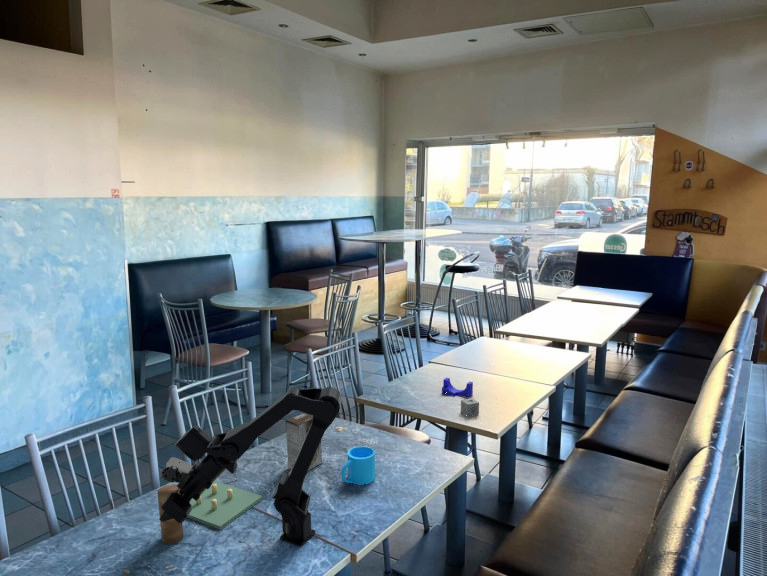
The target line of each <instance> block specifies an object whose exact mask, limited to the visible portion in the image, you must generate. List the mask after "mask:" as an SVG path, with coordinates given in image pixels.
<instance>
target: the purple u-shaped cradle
mask: <svg viewBox="0 0 767 576" xmlns="http://www.w3.org/2000/svg"><path fill="white" fill-rule="evenodd" d="M442 383H443V386H442V387H441V395H445V393H446V392H447V393H446V394H447V395H446V396H451V395H453V396H452V397H456V396H458V395H459V397H463V396H464V398H468V399H470V398H472V397H473V396H474V395H473V394H474V393H473V392H474V391H473V390H474V389H473V386H474V382H473V381H468V382H467V383H466V387H465V389H457V388H455V387H454V386H453V385H452V382H451V379H450V378H449V377H445V378H444V379H443V382H442Z"/></svg>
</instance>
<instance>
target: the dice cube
mask: <svg viewBox="0 0 767 576" xmlns="http://www.w3.org/2000/svg"><path fill="white" fill-rule="evenodd" d="M461 412H462V413H461ZM460 413H461V414H463V413H464V414H465V415H467V416H469V417H473V416H472V415H475V416H479V415H480V402H479V401H478V400H476V399H474V398H472V397H470V398H466V399H465V398H464V399H460ZM464 414H463V415H464ZM478 414H479V415H478ZM465 415H464V416H465ZM467 416H466V417H467Z"/></svg>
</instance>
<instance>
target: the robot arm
mask: <svg viewBox="0 0 767 576" xmlns="http://www.w3.org/2000/svg"><path fill="white" fill-rule="evenodd" d="M342 399H343V398H342V394H341V392H340V390H338V389H337V388H336V387H333V386H327V387H324V388H321V387H311V388H310V387H309V388H308V387H307V388H296V387H294V388H292V387H291V388H290V389H287V392H285V393H284V394H283V395H282V396H281V397H279V398H278V399H276V401H274V402H273V403H272V404H270V405H269V406H267V408H265V409H264V410H263V411H262V412H260V413H259V414H257V415H256V416H255V417H253V418H252V419H251V420H249V421H247V422H245V423H241V424H239V425H237V426H235V427H234V428H232V429H229V430H228V431H226V432H222V433H215V434H213V436H212V437H210V436H209V435H208V434H207V433H206V432H205V431H203V430H202V428H201V427H200V426H199V425H198V424H194V425H193V426H192V427H191V428H190V429H188V430H187V431H186V432H185V433H184V434H183V435H182V436H181V437H179V439H178V440H177V441H176V442H175V444H174V447H175V448H177V449H178V450H179V451H180V452H181V453H182V454H184V455H185V456H186V457H187V458H188V459H189V460H190V461H193V463H189V462H187V461H184V460H183V459H180V458H177V457H174V456H173V457H170V458H169V460H167V462H166V463H165V465H164V468H163V470H162V471H161V477H162V479H163V480H165V481H167V482H170V483H177V484H176V485H177V487H178V488H179V489H180V491H179V492H178V493H179V494H180V495H179V494H178V493H171V494H170V495H169V496H168V497H167V498H166V500H165V501H164V503H163V504H162V505H161V507H162V509H163V510H164V512H163V514H162V515H161V517H160V516H159V517H158V518H159V519H158V520H159V522H160V521H162V522H164V521H167V520H170V519H175V520H176V521H177V522H178V523H182V524H183V523H184V522H185V521H186V519H188V518H187V517H188V515H189V514H190V512H191V510H192V506H191V504H190V501H191V499H192V498H193V499H194V500H196V501H197V500H198V499H199V497H200V496H201V494H202V493H203V492H204V491H205V490H206V489H207V490H208V489H209V488H210V487H211V485H212V483H213V482H214V481H217V479H218V478H219V477H220V476H221V475H222V474H223V473H224V472H225V471H226V470H227V471H228V472H229V473H230V474H231V475H232V474H233V475H234V473H235V472H236V470H237V469H238V463H237V461H238V460H239V459H240V458H241V457H242V456H244V454H245V453H246V452H247V451H248V450H249V448H250V447H251V446H252V445H253V443H254V442H256V440H257V439H258V438H259V437H260V436H261V435H262V434H264V433H265V432H267V431H268V430H269V429H270V428H272V427H273V426H275V425H276V424H277V423H278V422H279V421H281V420H282V419H283V418H284V417H286V416H287V415H288V414H290V413H291V412H292V411H299V412H301V413H303V412H304V413H307V414H309V415H313V419H312V423H311V426H310V428H309V430H308V433H307V435H306V437H305V440H304V442H303V444H302V447H301V449H300V451H299V454H298V456H297V458H296V461H295V463H294V465H293V468H292V469H291V470H289V472H288V473H287V472H285V471H282V473H281V475H280V479H279V482H277V484H276V486H275V487H276V488H275V489H274V493H273V495H272V499H274V500H273V501H274V502H273V507H274V508H275V510H276V511H277V512H278V513H279V514H280V516H281V527H282V534H281V535H280V536H279V540H281V541H283V542H285V543H289V544H292V545H295V546H298V547H302V546H303V545H304V544H305V543H306V542H307V541H309V539H310V538H312V537H313V536H314V535H315V534H316V530H315V529H312V515H311V514H312V513H311V512H309V505H310V500H311V496H310V495H309V494H308V493H307V492H306V491H304V489H303V487H304V482H305V478H306V476H307V474H308V471H309V470H308V469H309V467H310V465H311V462H312V460H313V458H314V455H315V453H316V451H317V449H318V446H319V444H320V442H321V443H322V440H323V437H324V435H325V432H326V431H327V430H328V428H330V426H331V425H332V423H333V422H334V421H335V419H337V416H338V415H339V413H340V409H341V405H342ZM204 455H205V456H204ZM202 458H203V459H202ZM201 459H202V460H201ZM200 460H201V461H200ZM196 461H198V462H196ZM194 462H196V463H194Z"/></svg>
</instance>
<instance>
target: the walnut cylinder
mask: <svg viewBox="0 0 767 576" xmlns="http://www.w3.org/2000/svg"><path fill="white" fill-rule="evenodd" d="M177 485H178V484H171V483H170V484H166V485H164V486H161V487H159V489H158V490H157V500H158V512H159V518H160V517H161V515H162V514H163V512H164V510H163V509H162V507H161V505H162V504H163V503H164V501H165V500H166V498H167V497H168V496H169V495H170V494H171V493H178V492H179V491H180V489H179V488H178V487H177ZM178 494H179V493H178ZM179 495H180V494H179ZM159 523H160V525H159V526H160V536H161V537H160V538H161V542H162V543H163V544H164V545H168V546H169V545H175V544H176V543H179V542H180V541H182V540H183V539H184V526H183V522H182V523H178V522H177V521H176V520H175V519H170V520H167V521H164V522H162V521H160V520H159Z"/></svg>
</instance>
